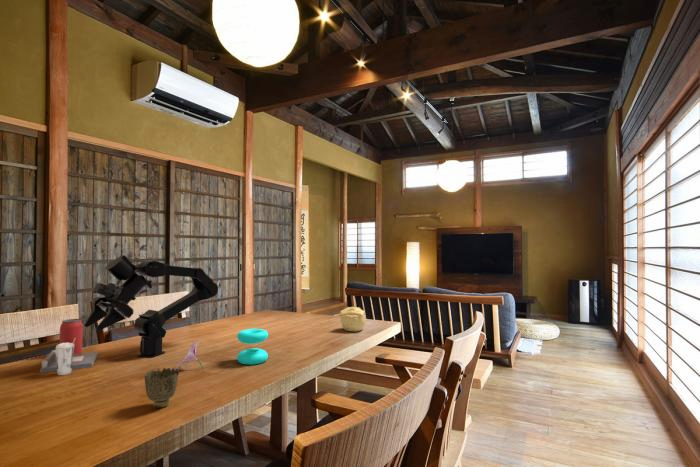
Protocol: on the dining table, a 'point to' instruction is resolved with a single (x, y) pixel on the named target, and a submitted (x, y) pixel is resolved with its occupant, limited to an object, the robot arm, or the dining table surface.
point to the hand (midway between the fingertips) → (91, 328)
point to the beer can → (72, 333)
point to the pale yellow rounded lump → (353, 319)
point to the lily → (191, 355)
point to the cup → (161, 386)
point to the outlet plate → (78, 361)
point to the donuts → (252, 354)
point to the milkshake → (64, 357)
